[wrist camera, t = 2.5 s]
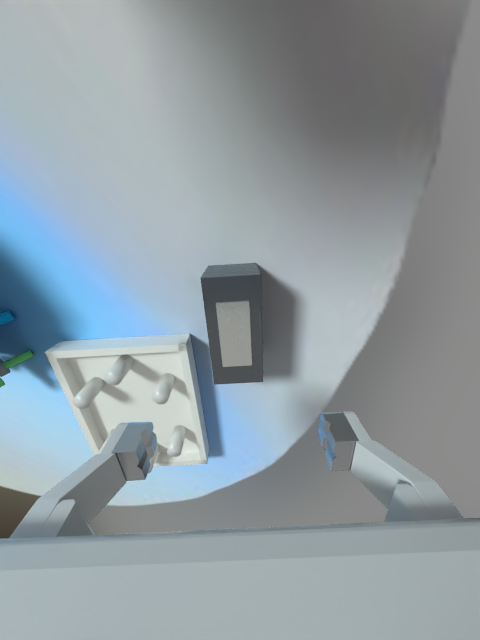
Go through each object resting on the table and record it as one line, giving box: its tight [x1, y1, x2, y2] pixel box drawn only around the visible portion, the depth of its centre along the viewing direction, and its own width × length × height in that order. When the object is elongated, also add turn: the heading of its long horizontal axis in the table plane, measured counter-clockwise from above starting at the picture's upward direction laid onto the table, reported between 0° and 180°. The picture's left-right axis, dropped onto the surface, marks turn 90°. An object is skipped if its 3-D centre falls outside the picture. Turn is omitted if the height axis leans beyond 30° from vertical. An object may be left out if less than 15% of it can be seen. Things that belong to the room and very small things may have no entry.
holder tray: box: [45, 334, 209, 473], centre depth 26 cm, size 18×14×4 cm
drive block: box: [201, 263, 263, 384], centre depth 21 cm, size 10×4×5 cm, turn 3°
